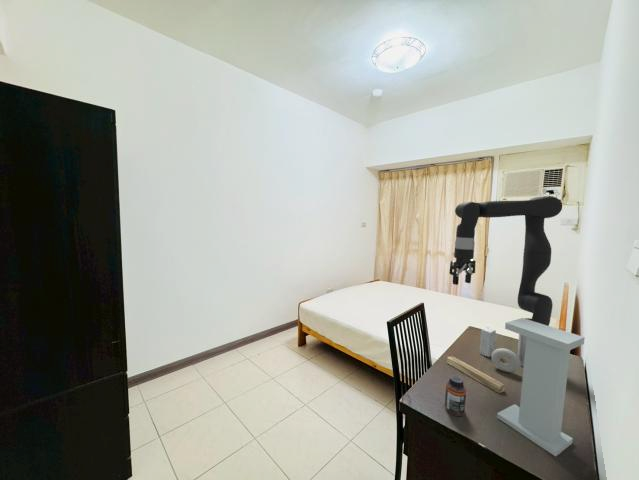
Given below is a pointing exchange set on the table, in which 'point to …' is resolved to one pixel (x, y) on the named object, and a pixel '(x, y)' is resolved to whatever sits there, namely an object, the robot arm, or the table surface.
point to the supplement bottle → (455, 396)
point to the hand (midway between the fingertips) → (461, 283)
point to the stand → (542, 384)
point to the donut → (509, 354)
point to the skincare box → (487, 341)
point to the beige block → (476, 374)
